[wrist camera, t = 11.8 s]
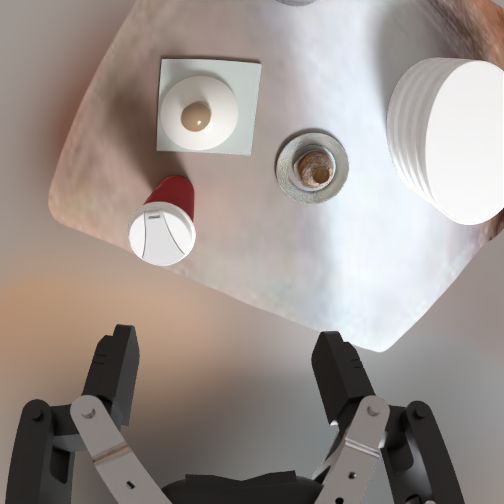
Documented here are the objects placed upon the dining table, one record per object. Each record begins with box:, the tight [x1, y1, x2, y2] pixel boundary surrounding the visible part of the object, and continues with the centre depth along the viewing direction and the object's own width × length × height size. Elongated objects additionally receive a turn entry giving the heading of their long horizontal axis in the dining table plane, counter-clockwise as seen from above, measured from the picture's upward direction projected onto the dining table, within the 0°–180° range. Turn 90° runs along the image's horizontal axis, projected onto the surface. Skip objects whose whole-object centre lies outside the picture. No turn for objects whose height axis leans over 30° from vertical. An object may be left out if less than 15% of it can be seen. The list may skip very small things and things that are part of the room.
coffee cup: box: [128, 175, 196, 266], centre depth 39 cm, size 8×8×15 cm
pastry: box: [276, 133, 349, 205], centre depth 44 cm, size 12×12×5 cm
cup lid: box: [160, 76, 238, 150], centre depth 36 cm, size 11×11×7 cm
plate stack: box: [386, 58, 504, 225], centre depth 38 cm, size 28×28×12 cm
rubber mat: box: [157, 59, 262, 155], centre depth 39 cm, size 14×14×1 cm
